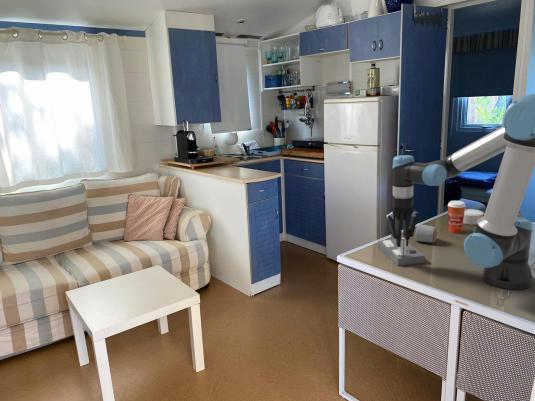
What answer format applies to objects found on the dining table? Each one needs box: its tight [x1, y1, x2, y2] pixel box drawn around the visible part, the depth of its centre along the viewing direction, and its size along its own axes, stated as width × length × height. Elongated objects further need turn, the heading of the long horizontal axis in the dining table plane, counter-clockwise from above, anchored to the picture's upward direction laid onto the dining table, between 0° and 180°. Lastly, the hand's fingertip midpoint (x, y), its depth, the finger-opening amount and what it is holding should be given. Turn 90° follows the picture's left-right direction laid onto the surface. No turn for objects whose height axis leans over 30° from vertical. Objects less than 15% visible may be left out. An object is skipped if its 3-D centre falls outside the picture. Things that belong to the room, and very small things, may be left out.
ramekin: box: [463, 208, 485, 226], centre depth 204 cm, size 11×11×5 cm
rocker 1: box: [382, 239, 395, 247], centre depth 176 cm, size 5×3×1 cm, turn 8°
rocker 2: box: [392, 249, 405, 256], centre depth 166 cm, size 5×3×1 cm, turn 7°
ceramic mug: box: [415, 223, 438, 244], centre depth 184 cm, size 11×8×8 cm
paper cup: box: [447, 200, 467, 234], centre depth 192 cm, size 8×8×14 cm
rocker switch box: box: [377, 238, 426, 267], centre depth 171 cm, size 20×11×3 cm, turn 7°
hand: (402, 254), depth 163 cm, fingers closed
